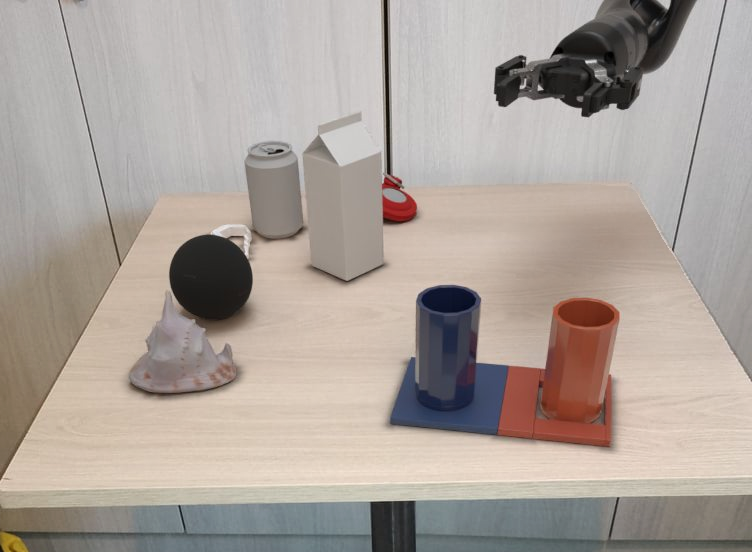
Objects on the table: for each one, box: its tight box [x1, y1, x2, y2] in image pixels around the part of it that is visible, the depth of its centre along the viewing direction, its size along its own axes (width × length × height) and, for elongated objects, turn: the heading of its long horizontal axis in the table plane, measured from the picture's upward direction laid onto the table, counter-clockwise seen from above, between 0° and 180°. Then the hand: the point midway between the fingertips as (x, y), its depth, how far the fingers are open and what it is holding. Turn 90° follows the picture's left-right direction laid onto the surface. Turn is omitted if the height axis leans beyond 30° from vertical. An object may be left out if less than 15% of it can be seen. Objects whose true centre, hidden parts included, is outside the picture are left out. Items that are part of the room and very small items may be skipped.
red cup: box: [539, 297, 621, 424], centre depth 81 cm, size 6×6×11 cm
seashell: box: [128, 289, 238, 394], centre depth 89 cm, size 10×12×9 cm
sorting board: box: [389, 356, 612, 447], centre depth 86 cm, size 22×12×1 cm, turn 77°
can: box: [244, 140, 304, 240], centre depth 117 cm, size 8×8×12 cm
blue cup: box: [414, 284, 482, 411], centre depth 82 cm, size 6×6×11 cm
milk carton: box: [301, 110, 385, 282], centre depth 105 cm, size 7×7×19 cm
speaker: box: [168, 234, 254, 321], centre depth 98 cm, size 10×10×10 cm
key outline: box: [210, 223, 253, 260], centre depth 116 cm, size 13×5×2 cm, turn 23°
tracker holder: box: [382, 171, 418, 222], centre depth 124 cm, size 12×4×10 cm
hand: (543, 100), depth 78 cm, fingers open, 8 cm apart
